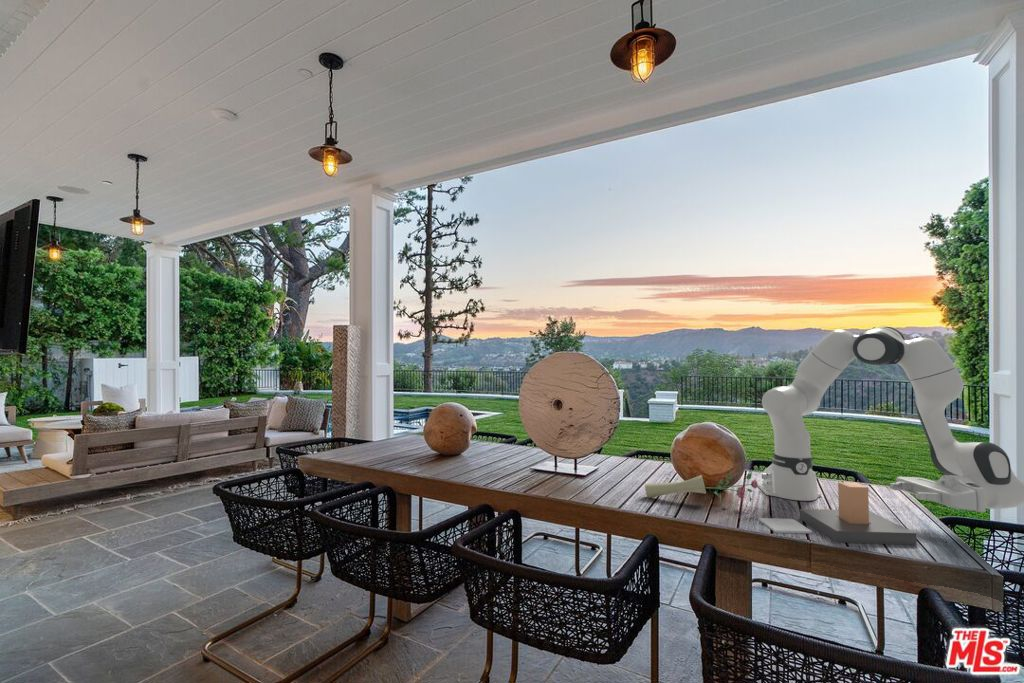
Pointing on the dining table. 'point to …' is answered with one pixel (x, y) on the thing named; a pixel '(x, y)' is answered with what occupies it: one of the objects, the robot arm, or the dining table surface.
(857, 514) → the peg
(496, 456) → the dining table surface
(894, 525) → the holder
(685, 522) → the dining table surface
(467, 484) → the dining table surface
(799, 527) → the mat
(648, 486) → the flower vase
